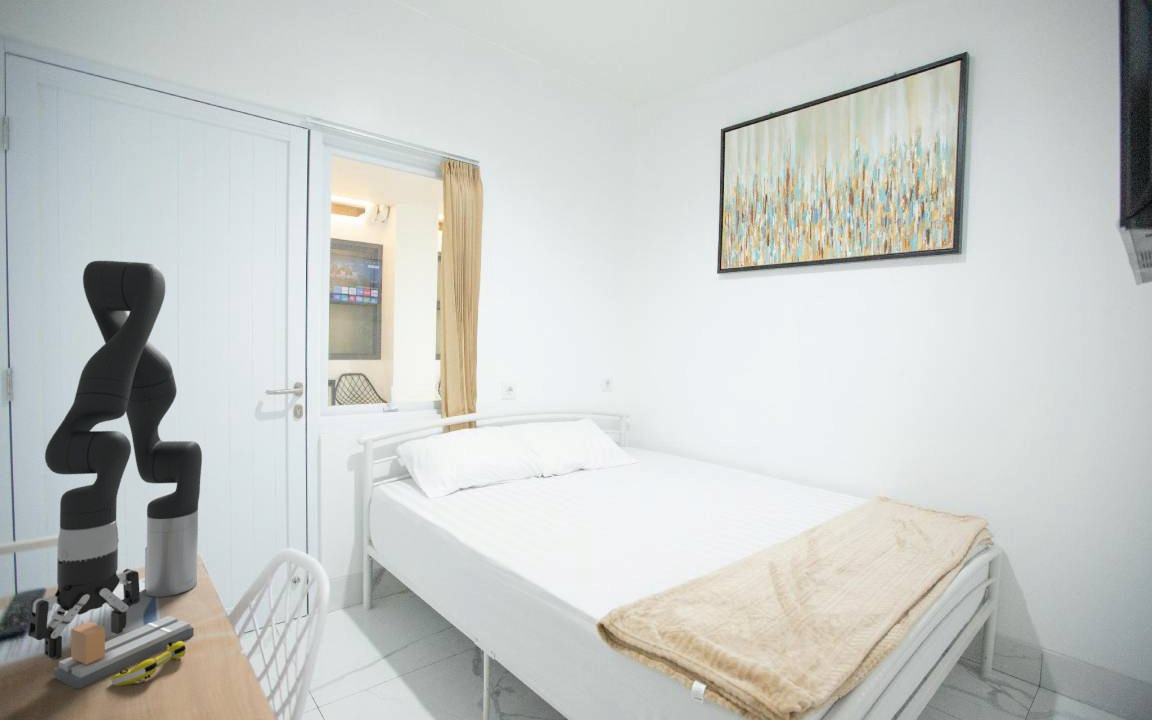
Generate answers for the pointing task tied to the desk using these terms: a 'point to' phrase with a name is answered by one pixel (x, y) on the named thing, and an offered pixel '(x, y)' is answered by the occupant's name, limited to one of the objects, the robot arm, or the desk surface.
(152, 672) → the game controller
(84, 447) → the robot arm
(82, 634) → the cap
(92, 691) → the desk surface
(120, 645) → the fader track
